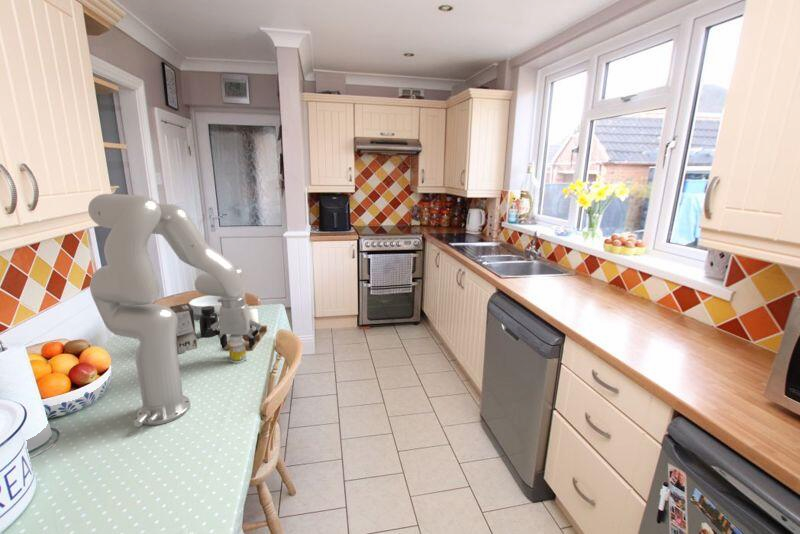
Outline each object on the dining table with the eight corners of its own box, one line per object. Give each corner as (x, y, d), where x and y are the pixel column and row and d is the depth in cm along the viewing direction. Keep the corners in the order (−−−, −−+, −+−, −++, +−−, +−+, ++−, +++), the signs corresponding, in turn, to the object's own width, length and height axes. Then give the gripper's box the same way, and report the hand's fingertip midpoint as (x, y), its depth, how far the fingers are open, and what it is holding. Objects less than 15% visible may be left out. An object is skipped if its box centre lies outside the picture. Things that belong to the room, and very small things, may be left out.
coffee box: (198, 349, 141) (193, 309, 137) (178, 354, 137) (173, 313, 133) (193, 341, 148) (188, 302, 144) (174, 345, 144) (169, 305, 140)
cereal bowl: (236, 308, 184) (234, 294, 182) (222, 321, 168) (221, 306, 166) (200, 307, 182) (198, 294, 181) (183, 321, 166) (181, 306, 165)
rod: (257, 337, 151) (255, 312, 148) (246, 337, 151) (244, 312, 148) (260, 333, 155) (258, 308, 152) (250, 333, 155) (248, 308, 152)
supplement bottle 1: (211, 339, 149) (209, 311, 146) (196, 337, 150) (193, 309, 147) (223, 332, 156) (220, 305, 153) (208, 331, 157) (205, 304, 154)
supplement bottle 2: (245, 362, 133) (243, 337, 130) (229, 364, 131) (227, 339, 129) (246, 355, 138) (245, 331, 135) (231, 357, 136) (229, 332, 134)
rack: (252, 351, 140) (252, 344, 140) (225, 351, 140) (224, 344, 139) (267, 332, 158) (267, 325, 157) (243, 331, 157) (242, 325, 157)
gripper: (203, 305, 125) (209, 351, 130) (255, 306, 126) (259, 351, 131) (213, 297, 132) (218, 341, 137) (262, 298, 133) (266, 341, 138)
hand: (238, 346), depth 134 cm, fingers open, 9 cm apart
